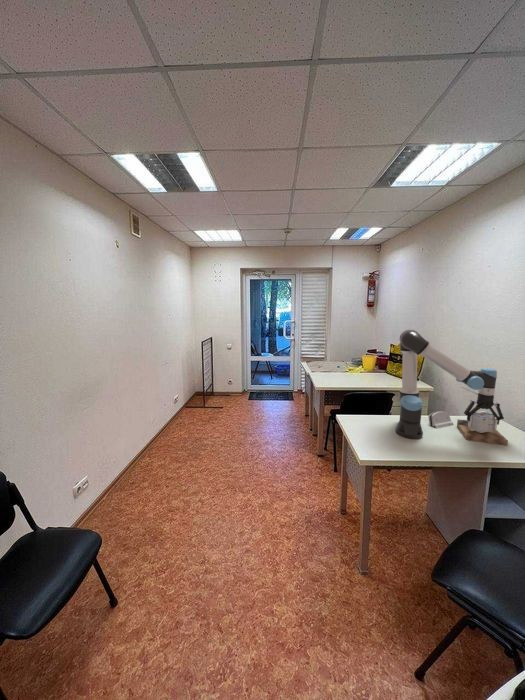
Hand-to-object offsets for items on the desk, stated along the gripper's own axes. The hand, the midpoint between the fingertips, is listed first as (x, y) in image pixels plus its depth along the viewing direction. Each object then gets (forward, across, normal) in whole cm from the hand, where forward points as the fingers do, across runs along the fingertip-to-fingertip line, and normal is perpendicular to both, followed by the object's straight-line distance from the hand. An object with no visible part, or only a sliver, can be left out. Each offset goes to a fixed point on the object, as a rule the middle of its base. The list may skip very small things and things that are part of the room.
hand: (481, 427), depth 167 cm
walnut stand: (+6, 0, +1) cm, 6 cm away
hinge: (+6, -19, +12) cm, 23 cm away
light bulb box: (+2, 0, 0) cm, 2 cm away
